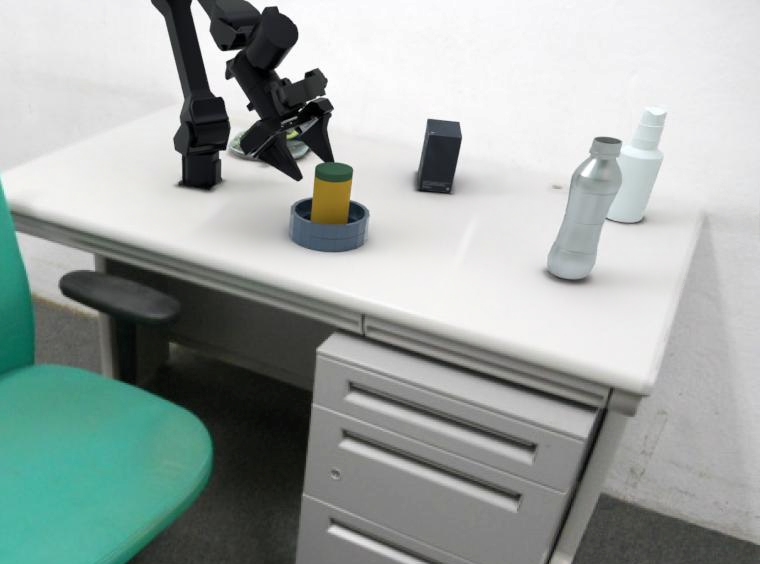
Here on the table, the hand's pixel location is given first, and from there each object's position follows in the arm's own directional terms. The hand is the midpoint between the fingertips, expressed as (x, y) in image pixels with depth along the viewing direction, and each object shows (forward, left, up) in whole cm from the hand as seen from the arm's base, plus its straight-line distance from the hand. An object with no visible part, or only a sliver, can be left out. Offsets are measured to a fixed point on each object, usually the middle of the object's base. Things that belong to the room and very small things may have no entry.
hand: (316, 172), depth 120 cm
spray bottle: (+46, +32, -11) cm, 57 cm away
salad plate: (-22, +39, -11) cm, 46 cm away
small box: (+13, +34, -11) cm, 38 cm away
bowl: (+3, -1, -10) cm, 11 cm away
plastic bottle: (+39, +3, -11) cm, 41 cm away
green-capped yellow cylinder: (+3, -1, -10) cm, 10 cm away
